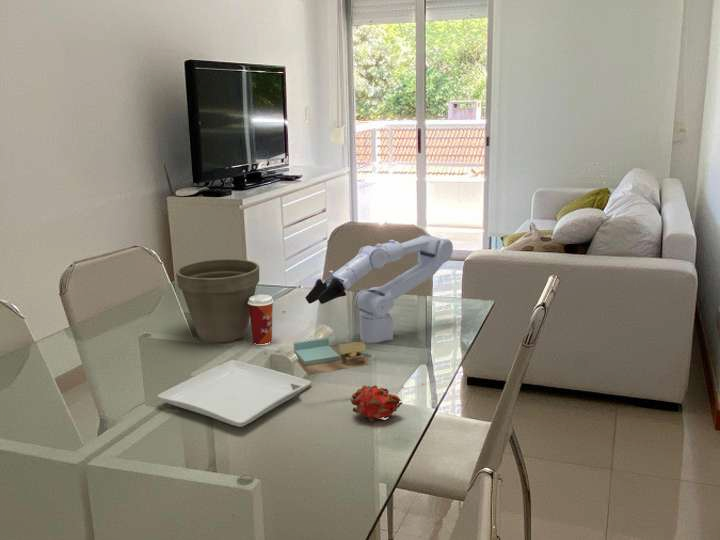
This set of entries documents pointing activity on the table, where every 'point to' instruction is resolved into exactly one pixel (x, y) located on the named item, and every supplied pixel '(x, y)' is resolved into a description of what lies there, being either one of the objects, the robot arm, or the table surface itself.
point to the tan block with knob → (352, 348)
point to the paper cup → (261, 318)
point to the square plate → (234, 392)
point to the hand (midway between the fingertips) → (313, 300)
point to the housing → (336, 363)
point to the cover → (315, 351)
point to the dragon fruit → (374, 402)
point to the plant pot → (219, 296)
